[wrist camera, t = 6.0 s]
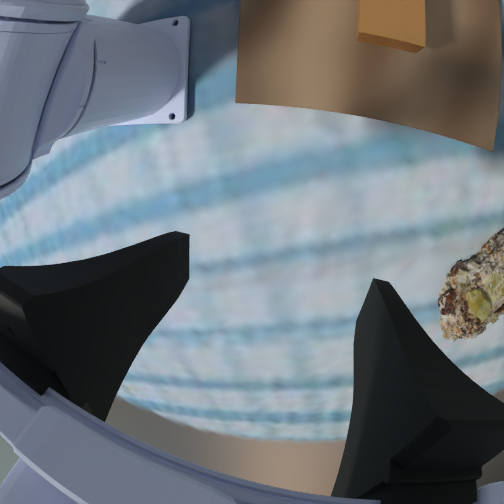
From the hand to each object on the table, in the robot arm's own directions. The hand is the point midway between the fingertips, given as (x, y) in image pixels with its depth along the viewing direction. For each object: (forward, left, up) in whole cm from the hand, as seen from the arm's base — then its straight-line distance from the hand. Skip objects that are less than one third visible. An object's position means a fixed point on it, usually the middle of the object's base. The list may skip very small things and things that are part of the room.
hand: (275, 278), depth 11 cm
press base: (+4, +17, -10) cm, 20 cm away
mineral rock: (+16, -4, -11) cm, 20 cm away
